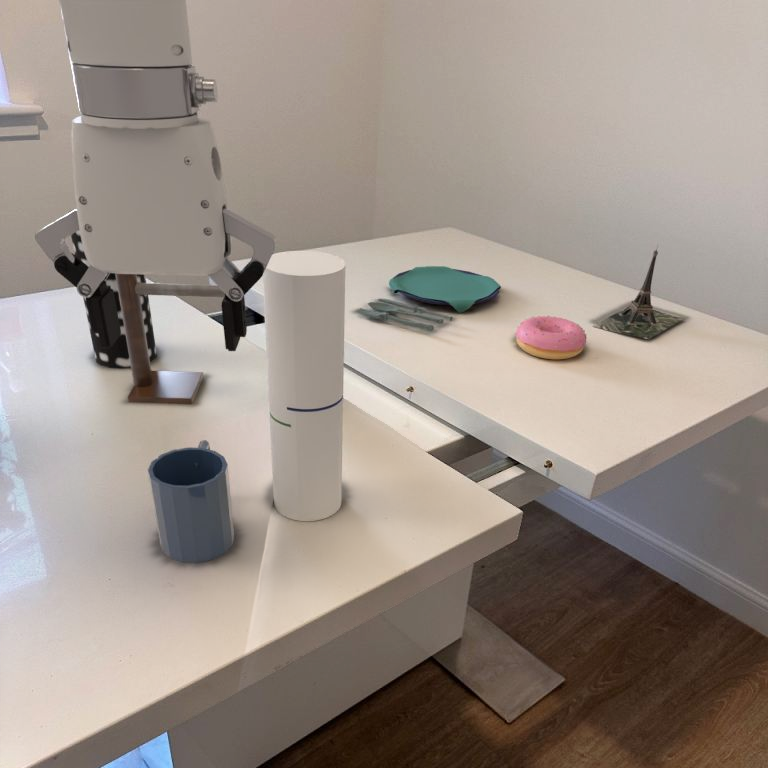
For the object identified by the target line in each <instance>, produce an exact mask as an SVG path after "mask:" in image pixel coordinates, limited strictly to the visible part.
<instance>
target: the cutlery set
mask: <svg viewBox="0 0 768 768" xmlns="http://www.w3.org/2000/svg"><path fill="white" fill-rule="evenodd" d="M388 286H389V287H390V288H391V290H392V291H393V293H394V294H398V293H399V294H401V295H402V296H404V297H406V298H408V299H412V300H415V301H418V302H422V303H427V304H432V305H442V306H452V307H453V308H454V310H455V311H456V312H457V313H458V314H461V313H464V312H466V311H467V310H468V309H470V308H472V306H473V305H474V304H475V305H476V304H482V303H484V302H487V301H490V300H493V299H495V298H496V296H497V295H498V294H499V293H500V290H501V289H502V286H501V285H500V284H499V283H498V282H497V281H496V280H495V279H494V278H492V277H490V276H489V275H483V274H480V273H475V272H472V271H468V270H462V269H456V268H452V267H449V266H445V265H444V266H443V265H441V266H440V265H437V266H436V265H427V266H415V267H414V268H412V269H408V270H405V271H402V272H399V273H397V274H396V275H395V276H393V277H392V278H391V279H389V281H388ZM377 300H378V301H377V302H376V301H369V302H368V303H367V305H368V306H369V307H370V309H372V310H368V309H364V308H362V307H360V308H359V309H357V310H355V312H357V313H358V314H361V315H364V316H368V317H371V318H373V319H376V320H379V321H387V320H391V321H394V322H396V323H398V324H400V325H404V326H408V327H411V328H412V327H413V328H418V329H422V330H425V331H428V332H433V331H434V325H433V324H428V323H426V322H425V323H424V322H418V321H412V320H406V319H402V318H400V317H397V316H394V315H392V314H398V315H403V316H408V317H413V318H417V319H422V320H426V321H429V322H432V323H435V324H437V325H442V324H444V320H445V319H447V320H449V322H452V321H453V315H452V316H450V315H444V314H440V313H439V312H438V313H437V312H435V311H431V310H428V309H427V308H425V307H419V305H415V306H412V305H411V304H406V303H403V302H399V301H395V300H391V299H387V298H378V299H377ZM397 307H399V308H403V309H408V310H411V311H413V312H408V311H399V309H398V308H397ZM417 312H418V313H417ZM425 313H426V314H430V315H435V316H438V317H435V316H430V315H424V314H425ZM439 317H440V318H439ZM441 317H442V318H441Z"/></svg>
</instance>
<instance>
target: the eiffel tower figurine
mask: <svg viewBox="0 0 768 768" xmlns="http://www.w3.org/2000/svg"><path fill="white" fill-rule="evenodd" d="M658 247H659V244H657V245H656V249H655V250H653V253H652V259H651V261H650V265H649V267H648V270H647V273H646V277H645V279H644V282H643V284H642V286H641V288H640V289H639V292H638V293H637V295H636V297H635V298H634V299H633V300H631V303H630V304H629V305H628V306H627V307H625V308H623V310H620V311H617V312H615V313H614V314H612V315H610V316H608V317H606V318H604V319H603V320H601V321H600V322H598V323H596V324H595V325H593V326H592V327H594V328H597V329H601V330H604V331H608V332H613V333H616V334H623V335H628V336H633V337H638V338H642V339H645V340H650V339H652V338H653V337H655V336H658V335H659V334H661V333H663V332H664V331H666V330H667V329H669V328H671V327H672V326H674V325H676V324H679V323H681V322H683V321H685V320H686V319H685V318H683V317H680V316H676V315H672V314H670V313H666V312H663V311H660V310H656V309H654V305H652V299H651V294H652V291H651V289H652V283H653V282H652V281H653V275H654V270H655V264H656V260H657V256H658V254H659V251H658Z"/></svg>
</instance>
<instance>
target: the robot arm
mask: <svg viewBox="0 0 768 768" xmlns="http://www.w3.org/2000/svg"><path fill="white" fill-rule="evenodd" d="M58 1H59V7H60V12H61V19H62V23H63V29H64V34H65V40H66V44H67V50H68V55H69V62H70V66H71V71H72V77H73V83H74V87H75V93H76V98H77V103H78V109H79V114H80V115H79V116H76V117H75V118H73V119H72V120H71V157H72V159H71V160H72V180H73V189H74V190H73V191H74V198H75V209H73V210H74V211H72V210H71V211H72V212H70V211H69V212H70V213H68V212H67V213H68V214H67V213H66V214H65V215H63V216H61V217H60V218H58V219H56V220H55V221H53V222H51V223H48V224H47V225H46V226H43V227H42V228H41V229H39V230H37V231H36V233H35V234H34V239H35V241H36V243H37V244H38V245H39V247H40V248H41V250H42V251H43V252H44V253H45V256H46V257H47V258H48V260H49V261H51V262H52V263H53V266H54V269H55V271H56V272H57V273H58V274H59V275H61V276H62V277H63V278H64V279H65V280H67V281H68V282H69V283H70V284H72V285H73V286H74V287H75V288H76V291H77V293H78V294H79V295H80V296H81V297H82V298H83V297H85V298H86V302H87V307H88V312H89V317H90V321H91V326H92V330H93V332H94V333H95V334H98V335H99V340H100V345H101V348H110V347H112V346H113V344H114V343H115V342H116V340H117V339H118V338H119V336H120V335H121V329H120V324H119V318H118V313H117V308H116V302H115V297H114V291H113V289H111V286H110V285H107V284H106V281H105V280H106V279H107V277H108V276H109V274H110V273H117V274H143V275H145V276H146V275H148V276H149V275H150V276H184V277H186V276H187V277H188V276H189V277H190V276H191V277H194V276H195V277H199V276H200V277H201V276H203V277H204V276H208V278H210V280H212V281H213V283H215V285H216V286H218V287H219V288H220V289H221V290H222V291H223V292H224V293H225V297H224V298H222V301H221V305H220V306H221V315H222V326H223V337H224V346H225V350H227V351H228V352H236V351H237V348H238V346H239V343H240V340H241V338H246V336H247V331H248V327H247V314H246V302H245V295H246V294H247V293H248V292H249V291H250V290H251V289H252V288H253V287H254V286H255V285H256V284H257V283H258V282H259V281H260V280H261V279H262V278H263V273H264V271H265V269H266V267H267V265H268V262H269V260H270V258H271V256H272V254H274V251H275V249H276V246H277V244H278V239H277V238H278V237H276V235H275V234H273V233H271V232H270V231H268V230H266V229H264V228H262V227H260V226H259V225H257V224H255V223H253V222H251V221H249V220H247V219H246V218H244V217H242V216H241V215H238V214H237V213H235V212H233V211H232V210H229V206H228V199H227V198H228V197H227V192H226V185H225V180H224V174H223V167H222V163H221V158H220V154H219V149H218V145H217V140H216V136H215V133H214V129H213V126H212V122H211V120H210V119H207V118H202V117H199V114H198V112H199V111H200V107H202V105H206V104H207V103H218V86H217V81H216V79H208V78H205V77H204V76H200V75H199V72H197V69H196V66H195V65H192V64H193V58H192V48H191V47H192V46H191V39H190V37H191V36H190V29H189V28H190V27H189V18H188V9H187V8H188V7H187V0H58ZM79 230H80V235H81V240H82V245H83V249H84V253H85V256H86V258H87V261H88V262H89V264H90V266H89V267H88V266H87V265H86V264H85V263H84V262H82V261H81V260H80V259H79V258H78V257H77V256H75V253H74V252H71V251H70V249H69V246H68V245H67V243H66V238H69V237H71V235H72V234H73V233H75V232H77V231H79ZM232 237H233V238H235V239H237V240H239V241H241V242H243V243H245V244H246V245H248V246H250V247H251V248H252V250H253V255H252V256H251V260H250V261H249V262H248V263H247V264H245V266H244V267H243V268H242V269H241V270H240V269H239V268H238V267H237V266H236V264H235V263H233V261H232V260H231V259H230V258H229V256H230V255H231V253H232V247H233V239H232Z"/></svg>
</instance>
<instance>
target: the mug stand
mask: <svg viewBox="0 0 768 768" xmlns="http://www.w3.org/2000/svg"><path fill="white" fill-rule="evenodd" d="M115 276H116V282H117V288H118V293H119V299H120V305H121V311H122V317H123V323H124V329H125V335H126V341H127V346H128V352H129V358H130V364H131V368H130V369H131V374H132V375H131V376H132V381H133V387H132V389H131V390H130V392H129V394H128V395H127V401H128V403H140V404H141V403H143V404H170V405H172V404H175V405H176V404H177V405H193V404H194V401H195V399H196V396H197V394H198V393H199V392H198V391H199V389H200V387H201V384H202V383H203V382H202V381H203V380H204V372H203V371H180V370H179V371H178V370H152V365H151V362H150V359H149V353H148V346H147V340H146V333H145V327H144V320H143V314H142V307H141V301H140V295H148V296H163V297H164V296H165V297H167V296H169V297H190V298H191V297H192V298H193V297H194V298H215V299H216V298H218V299H224V297H225V293H224V292H223V291H222V290H221V289H220V288H219V287H218V286H217V285H216V284H214V285H213V284H211V285H210V284H190V283H188V284H187V283H164V282H163V283H162V282H146V283H140V282H138V281H137V274H117V273H115Z"/></svg>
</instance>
